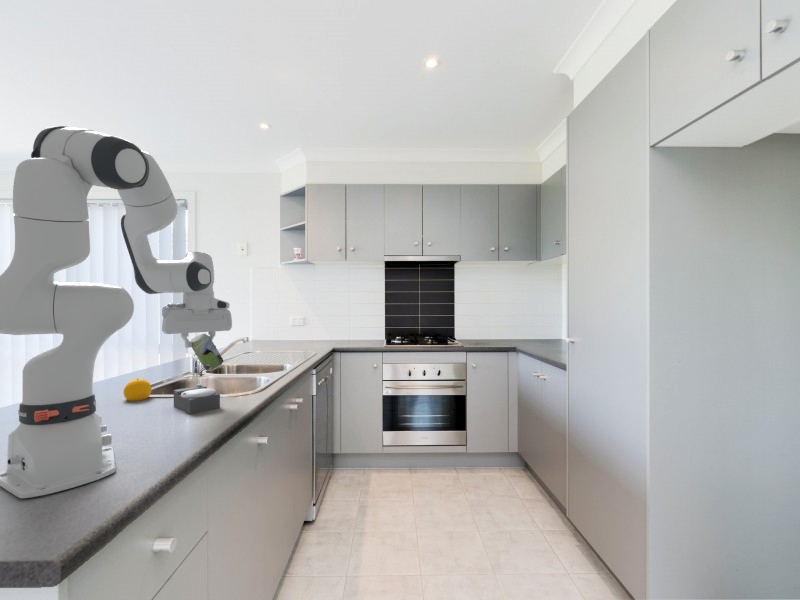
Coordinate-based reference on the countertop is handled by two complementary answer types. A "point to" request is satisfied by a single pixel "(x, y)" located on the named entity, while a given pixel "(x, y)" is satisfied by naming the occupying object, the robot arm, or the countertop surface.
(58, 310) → the robot arm
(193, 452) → the countertop surface
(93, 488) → the countertop surface
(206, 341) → the beverage can
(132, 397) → the apple
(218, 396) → the body block
